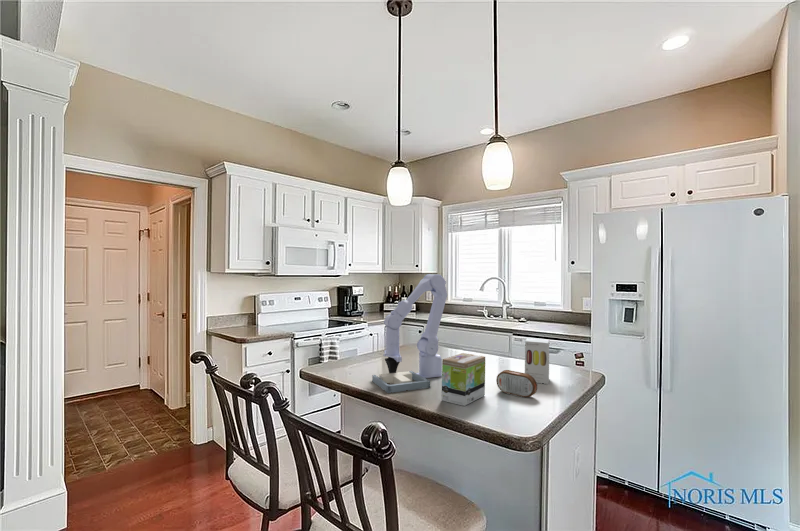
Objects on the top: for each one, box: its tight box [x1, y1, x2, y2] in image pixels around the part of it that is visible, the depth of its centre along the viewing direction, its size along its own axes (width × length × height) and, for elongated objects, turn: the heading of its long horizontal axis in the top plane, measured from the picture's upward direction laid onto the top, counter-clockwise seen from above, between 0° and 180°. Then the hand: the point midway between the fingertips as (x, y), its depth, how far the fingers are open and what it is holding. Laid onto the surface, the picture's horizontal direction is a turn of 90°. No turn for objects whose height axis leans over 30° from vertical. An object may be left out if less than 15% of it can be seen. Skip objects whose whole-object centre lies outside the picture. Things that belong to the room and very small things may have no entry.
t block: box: [378, 370, 413, 384], centre depth 160 cm, size 13×13×3 cm
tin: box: [496, 369, 538, 398], centre depth 147 cm, size 15×3×8 cm, turn 50°
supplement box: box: [524, 337, 550, 385], centre depth 166 cm, size 10×9×17 cm
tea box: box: [441, 352, 486, 407], centre depth 143 cm, size 15×10×15 cm, turn 143°
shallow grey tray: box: [371, 370, 431, 394], centre depth 160 cm, size 18×17×2 cm
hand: (392, 375), depth 167 cm, fingers closed
